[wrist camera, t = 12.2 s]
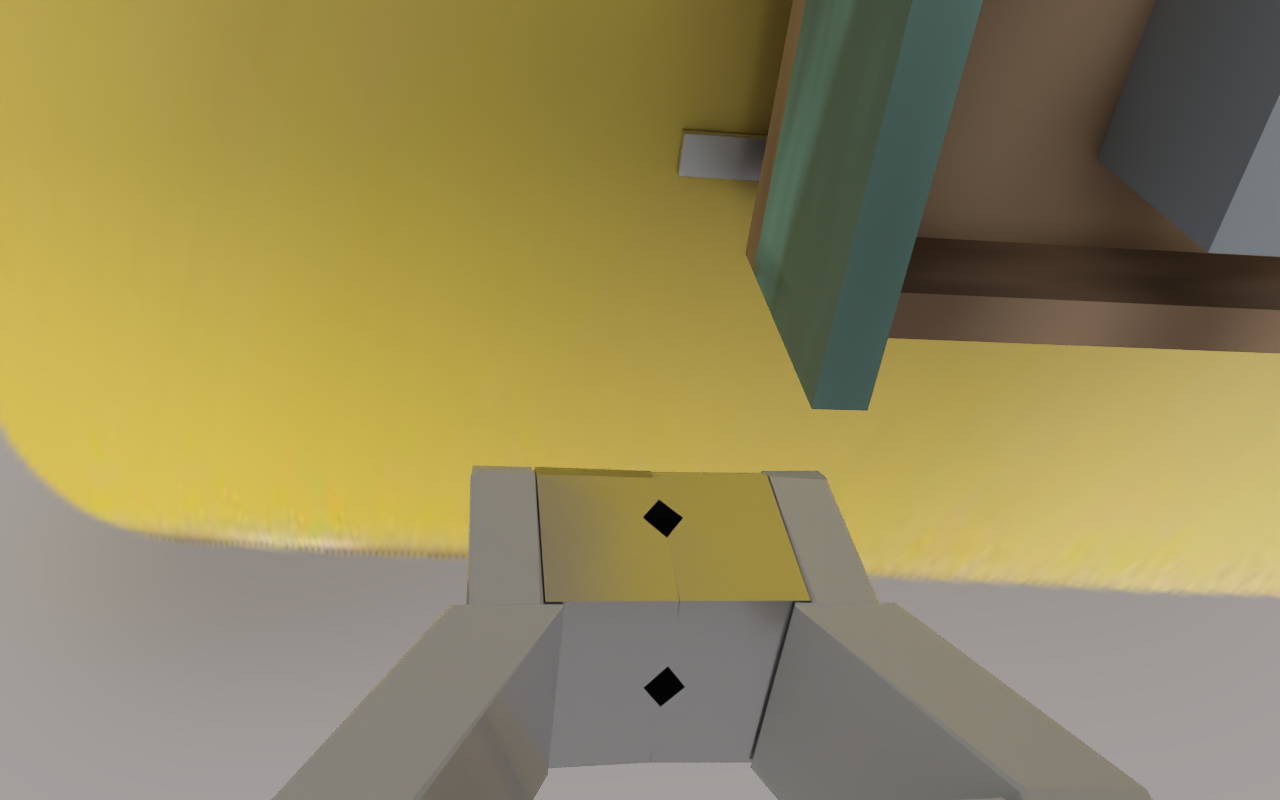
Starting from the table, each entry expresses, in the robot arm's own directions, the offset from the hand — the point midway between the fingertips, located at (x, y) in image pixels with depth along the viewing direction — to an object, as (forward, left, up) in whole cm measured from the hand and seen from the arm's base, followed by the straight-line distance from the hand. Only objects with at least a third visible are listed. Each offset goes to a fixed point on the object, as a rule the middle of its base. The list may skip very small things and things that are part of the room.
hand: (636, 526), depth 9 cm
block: (-16, 0, -17) cm, 23 cm away
